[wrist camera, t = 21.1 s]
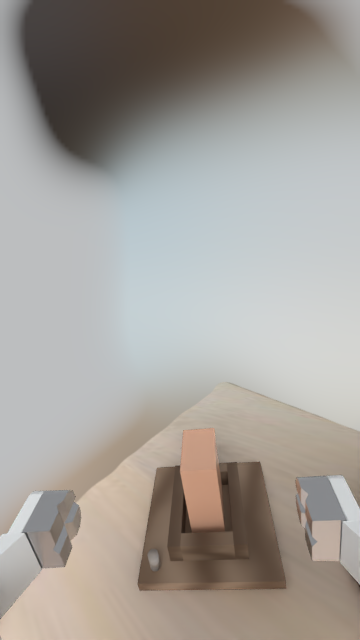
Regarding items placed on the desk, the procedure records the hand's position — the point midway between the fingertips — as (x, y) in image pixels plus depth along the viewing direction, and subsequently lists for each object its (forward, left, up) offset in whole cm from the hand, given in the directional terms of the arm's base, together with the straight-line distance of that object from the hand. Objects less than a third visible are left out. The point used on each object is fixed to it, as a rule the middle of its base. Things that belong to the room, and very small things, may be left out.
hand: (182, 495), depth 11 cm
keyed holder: (+2, -21, -30) cm, 37 cm away
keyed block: (+2, -21, -29) cm, 36 cm away
